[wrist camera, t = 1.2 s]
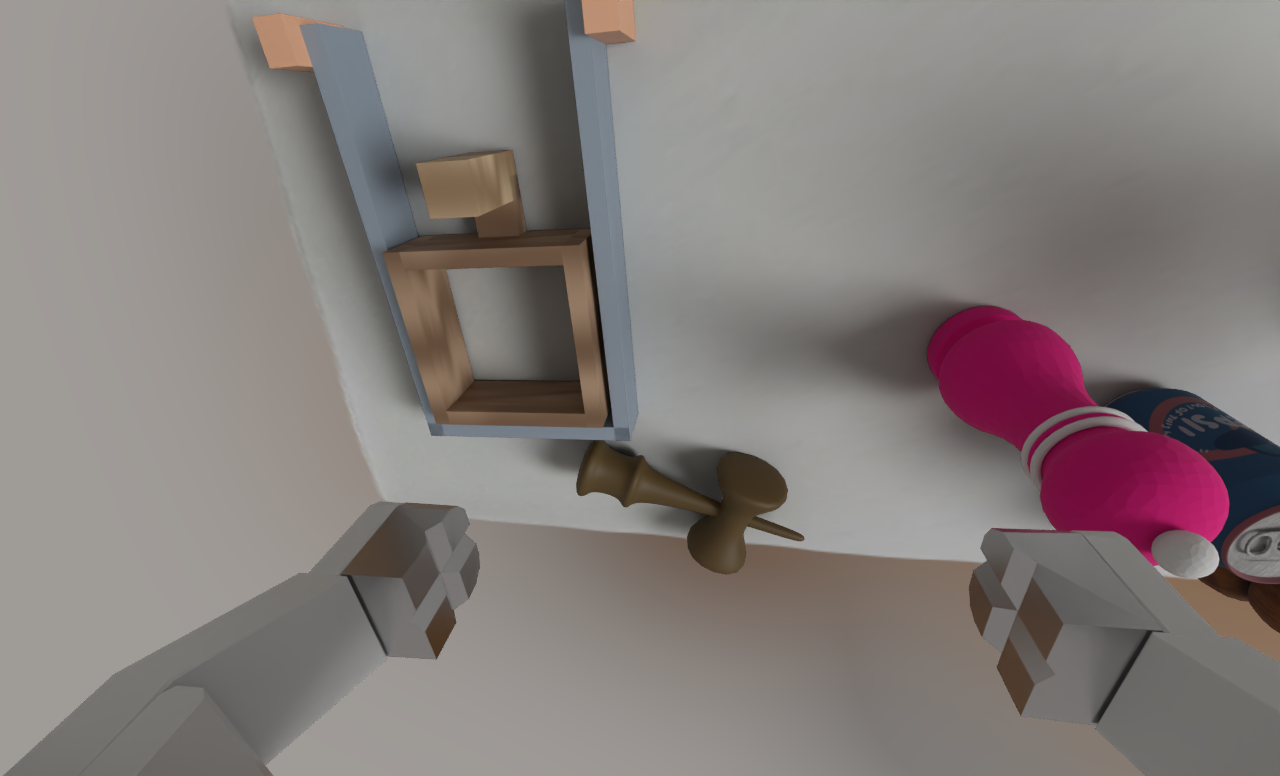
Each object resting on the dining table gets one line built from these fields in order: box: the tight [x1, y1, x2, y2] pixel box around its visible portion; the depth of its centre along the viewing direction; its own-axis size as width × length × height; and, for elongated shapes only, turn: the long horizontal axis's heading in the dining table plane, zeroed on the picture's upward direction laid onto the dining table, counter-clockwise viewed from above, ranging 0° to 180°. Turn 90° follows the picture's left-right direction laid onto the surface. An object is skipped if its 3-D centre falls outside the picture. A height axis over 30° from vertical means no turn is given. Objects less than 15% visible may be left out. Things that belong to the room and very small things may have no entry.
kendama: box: [576, 440, 804, 574], centre depth 43 cm, size 6×10×20 cm
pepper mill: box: [927, 306, 1229, 579], centre depth 27 cm, size 7×7×20 cm
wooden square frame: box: [383, 150, 611, 428], centre depth 36 cm, size 19×13×7 cm
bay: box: [252, 0, 638, 441], centre depth 35 cm, size 28×20×5 cm
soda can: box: [1104, 389, 1280, 584], centre depth 32 cm, size 7×7×12 cm
